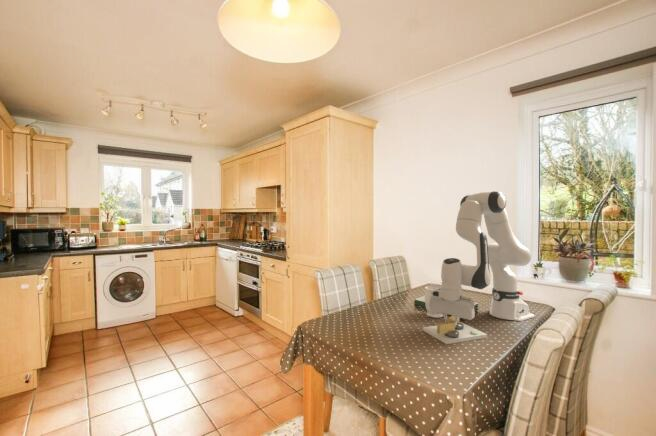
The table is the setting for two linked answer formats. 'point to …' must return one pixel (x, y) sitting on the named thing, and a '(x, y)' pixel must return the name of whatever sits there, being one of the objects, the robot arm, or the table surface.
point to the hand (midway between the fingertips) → (450, 324)
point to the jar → (427, 300)
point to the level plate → (464, 334)
